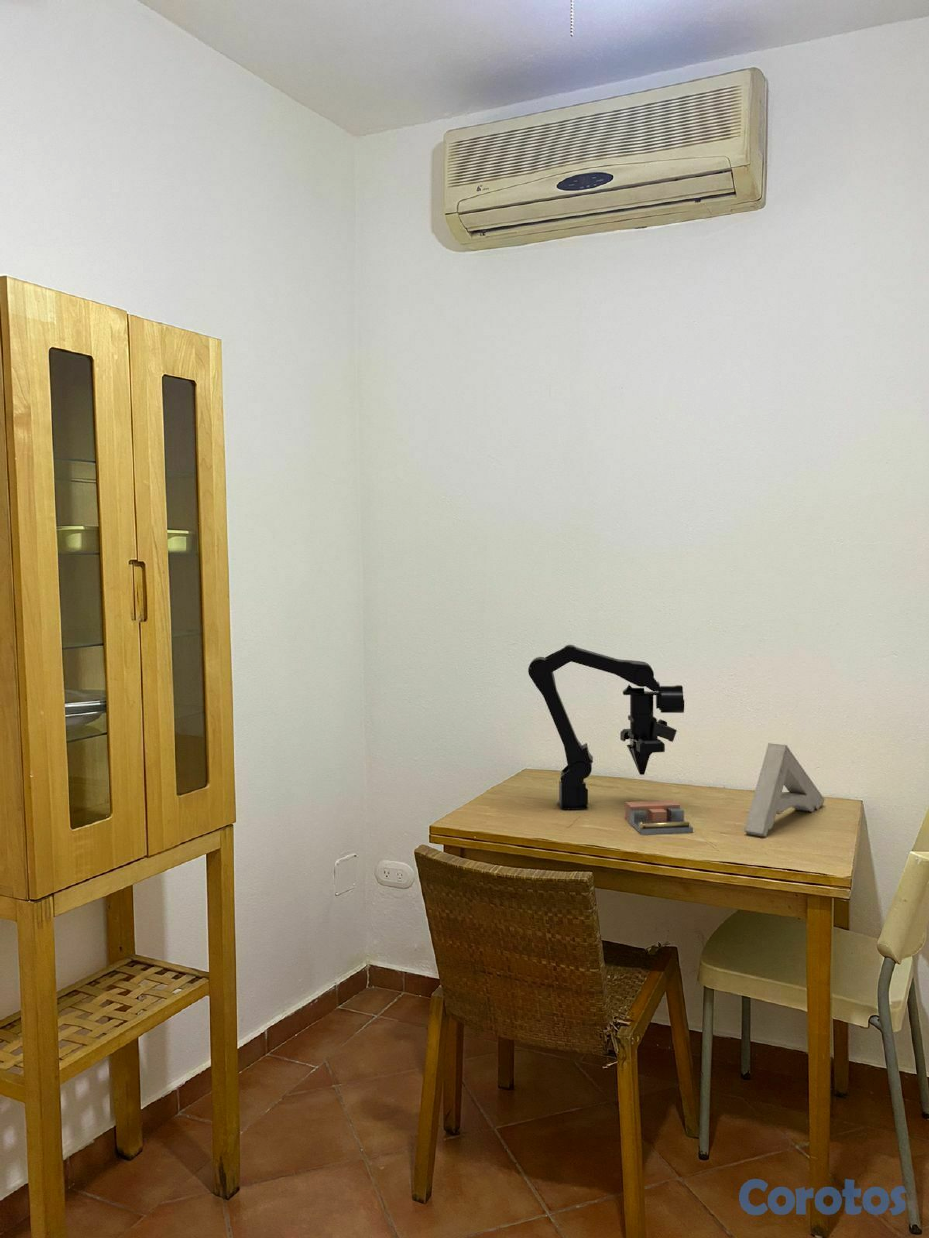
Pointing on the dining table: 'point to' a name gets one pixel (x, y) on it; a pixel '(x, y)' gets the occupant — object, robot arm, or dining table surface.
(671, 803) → the pink tabbed slab
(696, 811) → the dining table surface
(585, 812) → the dining table surface
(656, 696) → the robot arm
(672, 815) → the fixed leaf
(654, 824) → the hinge pin
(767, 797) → the grey letter a
